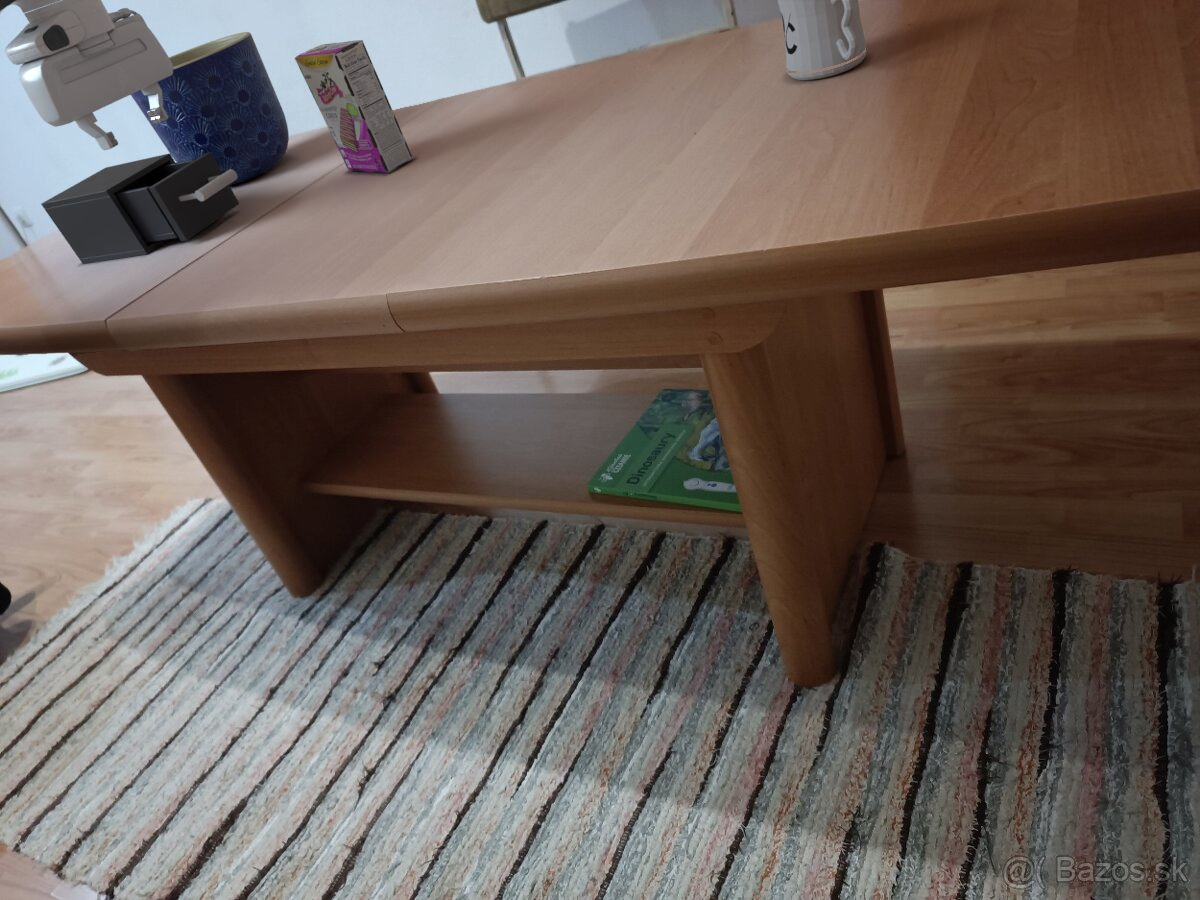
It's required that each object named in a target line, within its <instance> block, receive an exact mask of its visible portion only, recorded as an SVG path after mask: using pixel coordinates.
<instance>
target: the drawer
mask: <svg viewBox="0 0 1200 900" xmlns="http://www.w3.org/2000/svg"><path fill="white" fill-rule="evenodd" d="M236 179H237V174H236V172H235V171H234V170H232V169H230V170H228V171H226V172H225V173H222V171H221V170H220V168H219V166H218V164H217V162H216V161H215V159H214V157H213V155H212V153H211V152H210V153H205V154H203V155H202V156H200V157H199V158H197V159H196V158H195V159H190V160H186V161H181V162H176V161H175V163H172V164H167V165H162V166H159V167H158V168H156V169H154V170H153V171H151V172H149V173H148V174H146V175H144V176H143V177H141V178H139V179H137V180H136V181H134V182H132V183H131V184H129V185H127V186H126V187H124V188H122V189H121V190H119V191H117V192H116V193H114V195H115V196H116V198H117V199H118V201H119V203H120V204H121V206H122V207H123V209H124V210H125V212H126V213H127V215H128V217H129V218H130V220H131V221H132V223H133V224H134V226H135V228H136V229H137V231H138V232H139V234H140V235H141V237H142V238H143V240H144V242H145V243H147V242H153V241H160V240H166V239H169V240H173V239H177V238H179V241H181V242H184V241H188V240H190V239H191V238H192V237H194V236H195V235H197V234H199V233H200V232H201V231H203V230H204V229H206V228H207V227H209V225H212V224H213V223H214V222H216V221H217V220H218V219H220V218H221V217H223V216H224V215H226V214H228V212H230V211H231V210H232V209H235V208H236V207H238V205H240V202H239V200H238V198H237V196H236V194H235V192H234V191H233V189H232V188H231V185H230V186H229V184H230V183H232V182H233V181H235V180H236Z"/></svg>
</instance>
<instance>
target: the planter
mask: <svg viewBox="0 0 1200 900" xmlns="http://www.w3.org/2000/svg"><path fill="white" fill-rule="evenodd" d="M168 57H169V59H170V60H171V62H172V64H173V75H171V76H169V77H167V78H165V79H163V80H161V81H159V82H158V84H159V86H160V88H161V90H162V98H163V108H164V110H165V111H166V113H167V115H168V119H167V120H165V121H163V122H161V123H158V124H154V123H153V122H152V120H151V117H149V115H148V113H147V111H149V110H151V109H150V104H149V98H148V95H147V96H144V94H143V93H142V91H141V90H139V91H137V92H135V93H133V94H131V95H130V97H131V98H132V100H134V101H133V102H135V104H136V105H137V107H138V108H139V110H140V111H141V113H142V114H143V115H144V117H145V118H146V120H147V121H148V123H149V124H150V126H151V127H152V129H153V131H154V132H155V133H156V135H157V137H158V138H159V139H160V141H161V142H162V144H163V145H164V147H165V148H166V149H167V151H168V152H169V153H170V154H171V156H172V158H173V159H174V161H175V163H176V162H181V161H186V160H190V159H195V158H196V159H197V158H199V157H200V156H202V155H203V154H205V153H210V152H211V153H212V155H213V157H214V159H215V161H216V162H217V164H218V166H219V168H220V170H221V171H222V173H225V172H226V171H228V170H230V169H232V170H234V171H235V172H236V174H237V179H236V180H235V181H233V182H232V183H230V184H229V186H230V187H231V186H233V185H238V184H240V183H241V184H242V183H244V182H246V181H247V182H248V181H249V180H251V179H254V178H256V177H259V176H261V175H262V174H264V173H266V172H268V171H270V170H271V169H273V168H274V167H275V166H277V165H278V164H279V163H280V162H281V161H282V159H283V158H284V156H285V155H286V152H287V150H288V146H289V140H290V136H289V134H290V133H289V128H288V121H287V119H286V115H285V112H284V110H283V107H282V105H281V103H280V100H279V98H278V95H277V92H276V90H275V88H274V86H273V83H272V81H271V78H270V76H269V74H268V71H267V69H266V66H265V64H264V62H263V60H262V57H261V54H260V52H259V49H258V47H257V45H256V43H255V40H254V37H253V35H252V33H251V32H249V31H243V32H237V33H234V34H231V35H227V36H224V37H221V38H218V39H215V40H211V41H209V42H205V43H203V44H200V45H197V46H195V47H192V48H190V49H187V50H184V51H181V52H179V53H176V54H174V55H171V56H168ZM169 153H168V154H169Z"/></svg>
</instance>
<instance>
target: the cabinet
mask: <svg viewBox="0 0 1200 900" xmlns="http://www.w3.org/2000/svg"><path fill="white" fill-rule="evenodd" d="M172 163H176V161H175V160H174V158H173V157H172V156H171V154H170V153H165V154H161V155H156V156H152V157H147V158H142V159H138V160H133V161H129V162H125V163H119V164H116V165H112V166H111V165H110V166H106V167H104V168H102V169H100V170H99V171H97V172H95V173H93V174H92V175H90V176H88V177H86V178H84V179H83V180H80V181H79V182H77V183H76V184H74V185H72V186H70V187H68V188H67V189H65V190H63V191H61V192H60V193H59V192H58V193H57V194H55V195H54V196H52V197H50V198H48V199H47V200H45V201H43V202H42V203H40V205H41V206H42V208H43V209H44V211H45V212H46V213H47V215H48V216H49V218H50V219H51V221H52V222H53V223H54V225H55V226H56V228H57V230H58V231H59V232H60V234H61V235H62V236H63V238H64V240H65V241H66V242H67V244H68V245H69V247H70V248H71V249H72V251H73V253H74V254H75V255H76V256H77V258H78V259H79V261H80V262H81V264H90V263H97V262H104V261H105V262H106V261H111V260H118V259H124V258H131V257H132V258H133V257H139V256H147V255H148V254H150V253H152V252H153V251H154V250H156V249H158V248H159V247H160V246H161V245H164V244H165V243H166V242H167V241H169V240H170V239H166V240H160V241H153V242H147V243H145V242H144V240H143V238H142V237H141V235H140V234H139V232H138V231H137V229H136V228H135V226H134V224H133V223H132V221H131V220H130V218H129V217H128V215H127V213H126V212H125V210H124V209H123V207H122V206H121V204H120V203H119V201H118V199H117V198H116V196H115V195H114V193H116V192H117V191H119V190H121V189H122V188H124V187H126V186H127V185H129V184H131V183H132V182H134V181H136V180H137V179H139V178H141V177H143V176H144V175H146V174H148V173H149V172H151V171H153V170H154V169H156V168H158V167H159V166H162V165H167V164H172Z"/></svg>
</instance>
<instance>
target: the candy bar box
mask: <svg viewBox="0 0 1200 900" xmlns="http://www.w3.org/2000/svg"><path fill="white" fill-rule="evenodd" d="M294 60H295V62H296V64H297V66H298V68H299V70H300V72H301V74H302V76H303V79H304V81H305V83H306V85H307V87H308V89H309V91H310V93H311V95H312V98H313V99H314V101H315V104H316V105H317V108H318V110H319V112H320V114H321V116H322V118H323V120H324V122H325V125H326V127H327V128H328V131H329V133H330V135H331V137H332V139H333V142H334V144H335V145H336V148H338V151H339V154H340V156H341V158H342V160H343V162H344V164H345V166H346V168H347V170H348V171H349V172H365V173H381V174H390V173H393V172H394V171H396V170H398V169H400V168H401V167H403V166H404V165H406V164H408V163H409V162H411V161H413V160H414V157H413V155H412V153H411V151H410V148H409V146H408V143H407V141H406V139H405V136H404V133H403V132H402V129H401V127H400V125H399V122H398V120H397V118H396V116H395V113H394V110H393V109H392V105H391V103H390V101H389V99H388V96H387V95H386V92H385V90H384V88H383V84H382V83H381V80H380V78H379V76H378V73H377V71H376V69H375V66H374V63H373V62H372V60H371V57H370V55H369V52H368V50H367V47H366V46H365V43H364V40H363V39H358V40H348V41H341V42H331V43H325V44H320V45H318V46H317V45H316V46H315V47H313V48H310V49H308V50H307V51H304V52H302V53H299V54H298V55H297V56H295V57H294Z"/></svg>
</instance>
